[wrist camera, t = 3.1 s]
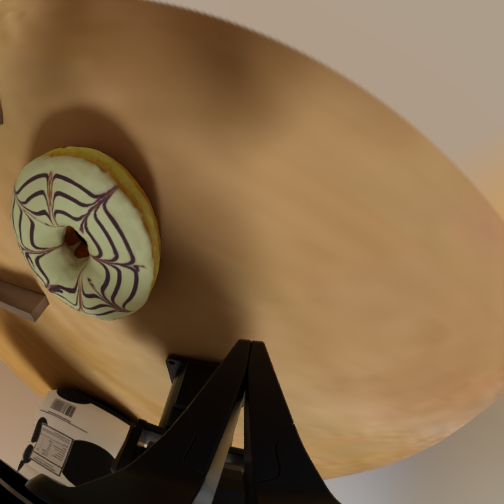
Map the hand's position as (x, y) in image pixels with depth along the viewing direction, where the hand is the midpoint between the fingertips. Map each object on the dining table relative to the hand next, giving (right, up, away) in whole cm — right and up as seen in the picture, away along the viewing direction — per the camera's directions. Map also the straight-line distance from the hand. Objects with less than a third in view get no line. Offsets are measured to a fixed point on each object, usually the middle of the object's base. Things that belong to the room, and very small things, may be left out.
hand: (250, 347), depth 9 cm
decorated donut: (-10, +5, +7) cm, 13 cm away
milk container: (-23, -21, +24) cm, 39 cm away
